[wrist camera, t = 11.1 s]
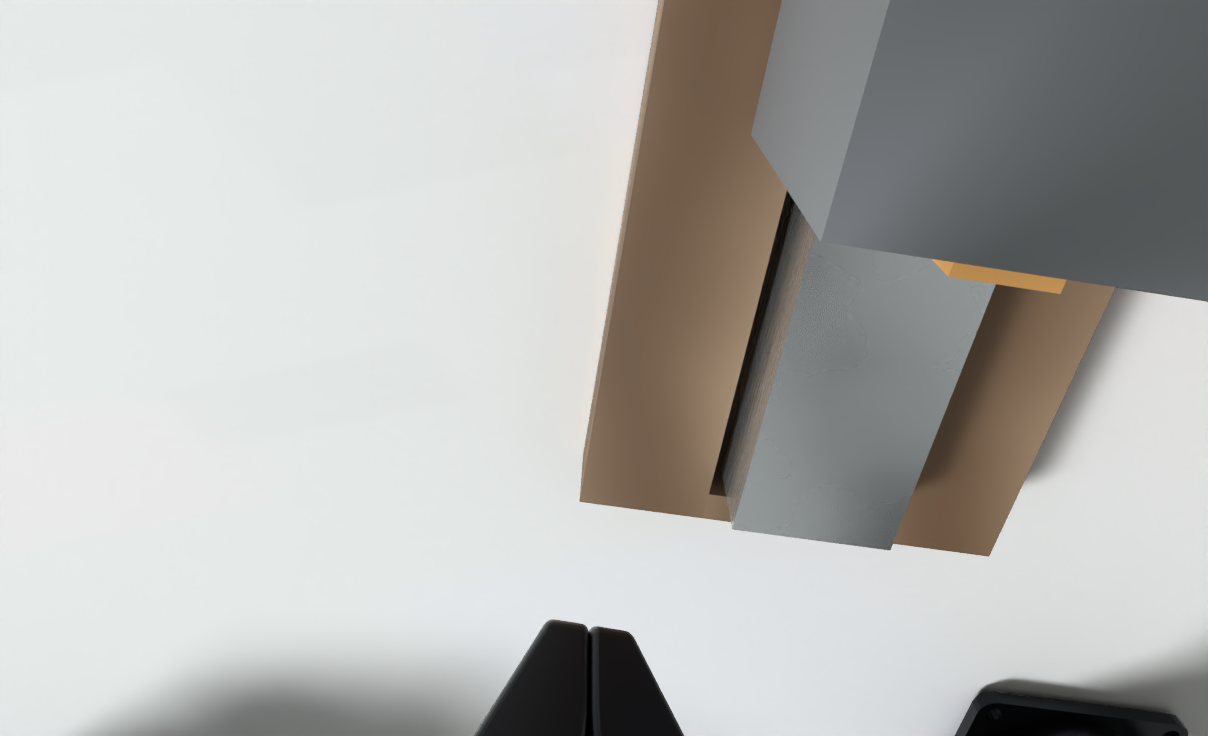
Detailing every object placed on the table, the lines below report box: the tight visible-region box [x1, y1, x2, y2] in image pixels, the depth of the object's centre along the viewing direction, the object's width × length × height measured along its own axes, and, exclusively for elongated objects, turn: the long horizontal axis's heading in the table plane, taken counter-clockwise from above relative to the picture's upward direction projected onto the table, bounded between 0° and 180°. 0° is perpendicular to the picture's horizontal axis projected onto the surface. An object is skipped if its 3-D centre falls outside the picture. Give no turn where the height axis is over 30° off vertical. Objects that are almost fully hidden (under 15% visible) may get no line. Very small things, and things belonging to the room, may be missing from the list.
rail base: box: [580, 0, 1115, 556], centre depth 17 cm, size 10×17×2 cm, turn 172°
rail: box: [719, 191, 996, 550], centre depth 16 cm, size 4×15×3 cm, turn 171°
